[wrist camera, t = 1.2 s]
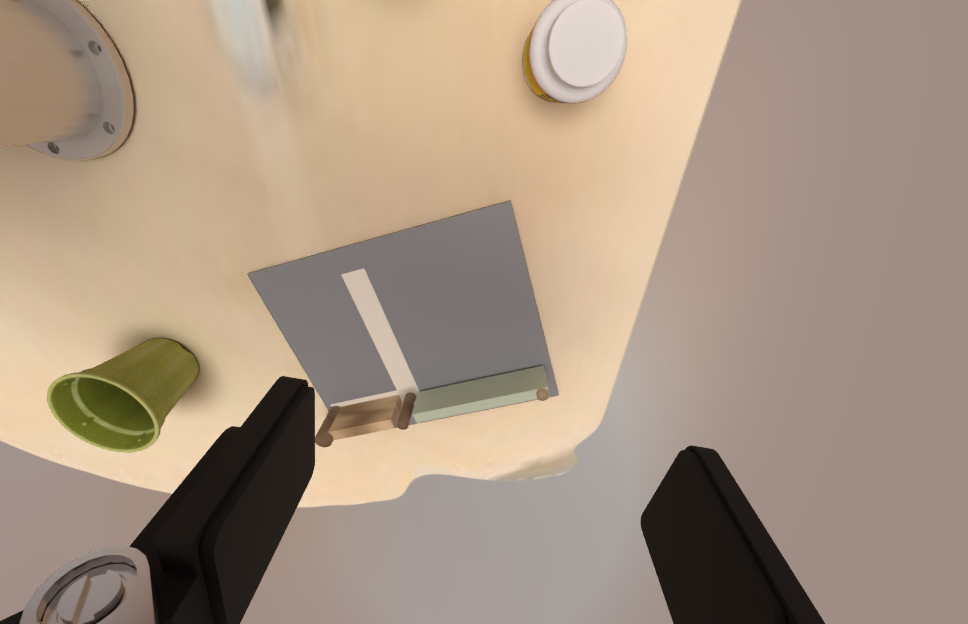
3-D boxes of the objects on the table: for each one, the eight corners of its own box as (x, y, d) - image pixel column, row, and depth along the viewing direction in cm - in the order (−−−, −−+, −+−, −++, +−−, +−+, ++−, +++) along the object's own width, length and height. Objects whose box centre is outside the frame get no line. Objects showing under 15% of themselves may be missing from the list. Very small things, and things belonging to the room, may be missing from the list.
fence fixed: (335, 417, 47) (319, 448, 43) (328, 405, 46) (311, 436, 42) (418, 399, 45) (410, 430, 41) (413, 387, 45) (404, 417, 40)
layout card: (345, 436, 48) (344, 437, 48) (248, 273, 39) (246, 274, 38) (558, 393, 45) (558, 395, 44) (510, 200, 35) (510, 201, 34)
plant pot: (223, 398, 46) (169, 457, 39) (141, 390, 46) (70, 448, 38) (204, 328, 42) (139, 379, 34) (113, 319, 42) (27, 369, 34)
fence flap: (422, 400, 45) (415, 425, 41) (418, 391, 44) (411, 417, 41) (545, 374, 43) (550, 399, 39) (543, 365, 42) (547, 389, 39)
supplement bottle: (525, 108, 31) (538, 112, 22) (517, 23, 29) (527, -12, 20) (597, 95, 31) (640, 94, 22) (595, 7, 28) (642, -36, 19)
